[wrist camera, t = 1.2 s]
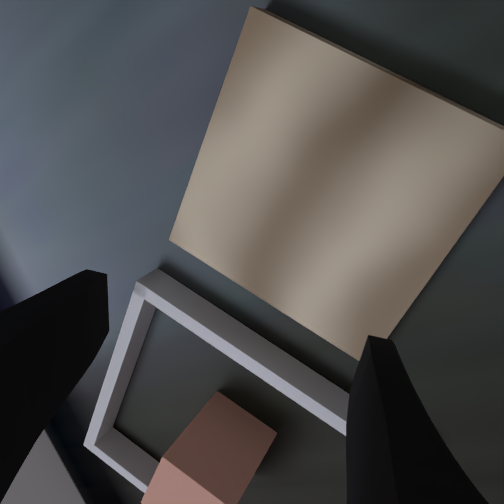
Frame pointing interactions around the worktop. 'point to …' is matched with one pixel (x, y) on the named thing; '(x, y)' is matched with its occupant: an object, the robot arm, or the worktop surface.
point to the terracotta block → (211, 457)
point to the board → (332, 182)
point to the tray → (221, 337)
